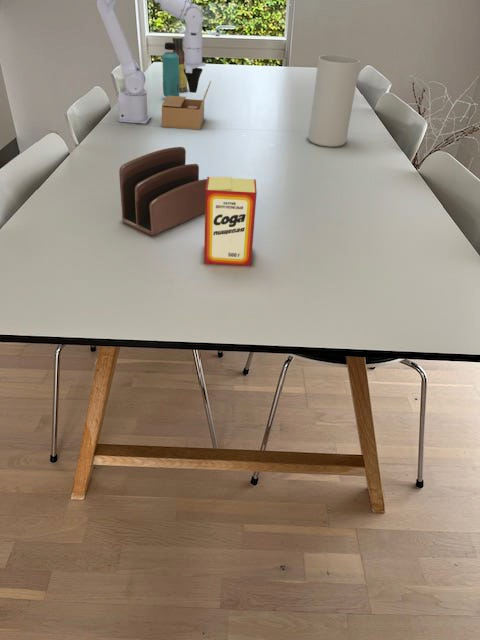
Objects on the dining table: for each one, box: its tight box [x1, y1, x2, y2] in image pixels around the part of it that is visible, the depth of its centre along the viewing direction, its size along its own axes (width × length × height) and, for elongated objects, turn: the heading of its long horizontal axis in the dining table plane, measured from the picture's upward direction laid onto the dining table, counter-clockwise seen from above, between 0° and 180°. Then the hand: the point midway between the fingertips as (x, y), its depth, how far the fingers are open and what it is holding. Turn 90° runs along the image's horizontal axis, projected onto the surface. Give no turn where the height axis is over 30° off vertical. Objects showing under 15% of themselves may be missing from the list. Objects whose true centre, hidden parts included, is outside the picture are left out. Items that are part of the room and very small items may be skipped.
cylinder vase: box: [308, 54, 361, 148], centre depth 171 cm, size 12×12×25 cm
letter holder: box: [118, 146, 207, 237], centre depth 121 cm, size 10×20×14 cm, turn 141°
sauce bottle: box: [172, 35, 188, 93], centre depth 217 cm, size 6×6×20 cm
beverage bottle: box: [161, 41, 181, 98], centre depth 205 cm, size 6×7×20 cm
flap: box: [200, 80, 212, 108], centre depth 180 cm, size 6×13×1 cm
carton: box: [161, 95, 205, 130], centre depth 184 cm, size 13×13×7 cm
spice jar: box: [187, 106, 198, 109], centre depth 184 cm, size 4×4×5 cm
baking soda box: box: [203, 176, 258, 267], centre depth 106 cm, size 10×6×16 cm
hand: (193, 92), depth 182 cm, fingers closed
